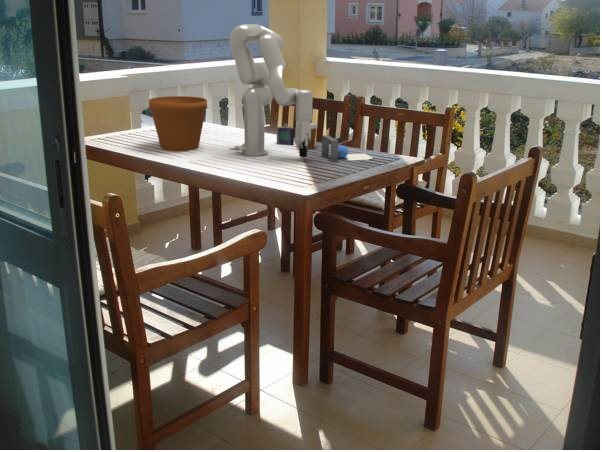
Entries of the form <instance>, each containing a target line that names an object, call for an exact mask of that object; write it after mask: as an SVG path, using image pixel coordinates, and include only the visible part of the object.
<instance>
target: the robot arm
mask: <svg viewBox="0 0 602 452" xmlns="http://www.w3.org/2000/svg"><path fill="white" fill-rule="evenodd" d="M248 44H257V46H258V48H259V51H260V53H261V56H262V59H263V61H264V63H265V65H266V67H265V66H264V65H263V64H261V63H258V62H255V61H254V58H253V54H252V51H251V49H250V48H249V46H248ZM229 45H230V49H231V52H232V55H233V59H234V62H235V66H236V70H237V74H238V78H239V81H241V83H242V84H243V85H246V86H249V85H250V86H251V85H252V87H248V88H246V90H244V91H243V94H242V98H241V100H242V106H243V113H244V114H243V116H244V118H243V119H244V123H243V124H244V125H243V127H244V132H243V133H244V143H242V144H241V145H234V151H240V152H241V154H242V156H243V155H244V156H249V157H261V156H265V155H267V154H268V150H266V149H265V112H264V107H265V106H268V105H270V104H271V103H272V101H273V99H274V101H275V103H277V105H278V106H282V107H287V106H291V105H295V121H296V122H295V131H294V133H295V134H294V138H295V139H294V140H296V141H297V142H299V143H298V145H299V147H298V148H299V154H298V155H299V157H300V158H306V157H308V148H307V146H308V143H309V142H310V141H311V123H312V121H313V100H314V99H313V97H314V95H313V90H310V89H299V88H295V87H289V88H287V87H286V85H285V83H284V79H283V72H284V70H285V68H286V65H287V63H286V61H285V58H284V55H283V53H282V50H283V49H284V45H285V42H284V39H283V37H282V36H281V35H280V34H278V33H277V32H276V31H273V30H271V29H269V28H266V27H265V26H262V25H261V24H257V23H253V24H252V23H249V24H248V23H245V24H239V25H238V26H236V27H235V28H234V29H233V30H232V31H231V34H230V36H229Z"/></svg>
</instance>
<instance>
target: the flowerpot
mask: <svg viewBox="0 0 602 452" xmlns="http://www.w3.org/2000/svg"><path fill="white" fill-rule="evenodd" d="M148 107H149V108H148V109H149V110H150V112H151V115H152V119H153V124H154V126H155V130H156V134H157V138H158V142H159V146H160V149H161V150H163V151H167V152H189V150H191V151H194V149H195V150H198V149H199V146H200V140H201V135H202V133H203V132H202V130H203V125H204V121H205V115H206V110H208V100H207V99H206V98H204V97H199V96H198V97H196V96H185V95H184V96H181V95H179V96H178V95H177V96H173V95H172V96H160V97H153V98H150V99H148ZM197 148H198V149H197Z"/></svg>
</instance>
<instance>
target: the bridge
mask: <svg viewBox="0 0 602 452" xmlns="http://www.w3.org/2000/svg"><path fill="white" fill-rule="evenodd" d="M338 147H339V140H338V139H335V138H334V137H332V136H330V135H328V134H324V135H321V150H320V151H321V156H322V157H330V158H329V159H330V160H329V161H330V162H331V163H338V161H339V157H338ZM329 150H330V151H329Z"/></svg>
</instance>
